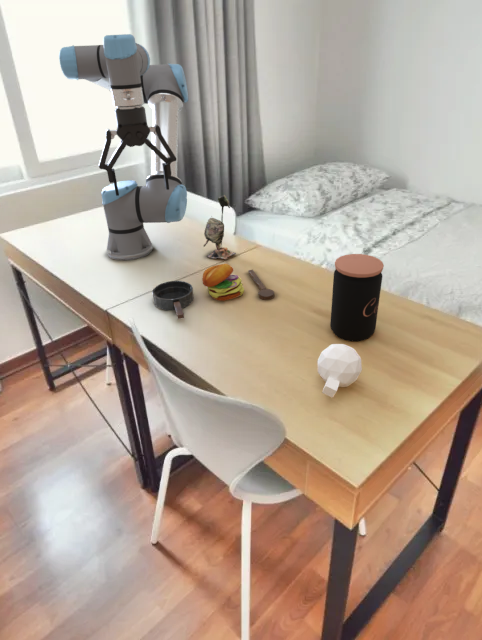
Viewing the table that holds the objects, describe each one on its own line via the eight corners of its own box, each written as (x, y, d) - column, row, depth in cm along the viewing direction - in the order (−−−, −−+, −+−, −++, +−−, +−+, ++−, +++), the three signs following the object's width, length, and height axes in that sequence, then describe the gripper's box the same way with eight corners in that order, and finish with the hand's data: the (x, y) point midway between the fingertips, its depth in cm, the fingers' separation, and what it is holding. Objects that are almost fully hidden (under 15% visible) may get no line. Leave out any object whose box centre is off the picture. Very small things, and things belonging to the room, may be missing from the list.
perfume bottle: (318, 355, 101) (302, 394, 93) (332, 327, 95) (316, 366, 86) (355, 372, 100) (342, 413, 91) (372, 345, 93) (359, 387, 85)
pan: (152, 295, 132) (150, 284, 130) (189, 289, 134) (188, 278, 132) (156, 314, 123) (154, 302, 121) (197, 307, 125) (196, 295, 123)
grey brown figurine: (216, 247, 160) (211, 189, 149) (239, 255, 153) (236, 195, 142) (198, 254, 155) (192, 195, 144) (221, 263, 148) (216, 202, 137)
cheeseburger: (241, 303, 125) (230, 271, 120) (205, 309, 129) (193, 278, 124) (248, 286, 134) (238, 255, 129) (214, 291, 137) (203, 261, 132)
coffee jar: (365, 348, 106) (374, 278, 96) (322, 335, 111) (327, 267, 101) (380, 326, 113) (390, 258, 104) (339, 315, 118) (345, 250, 109)
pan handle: (174, 311, 124) (173, 301, 122) (180, 310, 124) (179, 300, 122) (178, 325, 118) (177, 315, 116) (185, 324, 118) (183, 314, 116)
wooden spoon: (243, 274, 141) (243, 271, 140) (257, 272, 142) (257, 268, 141) (261, 301, 126) (261, 297, 126) (276, 298, 127) (276, 294, 127)
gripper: (77, 112, 110) (96, 200, 121) (181, 104, 115) (189, 189, 126) (78, 109, 116) (95, 193, 127) (176, 101, 121) (185, 182, 133)
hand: (142, 191), depth 127 cm, fingers open, 13 cm apart
